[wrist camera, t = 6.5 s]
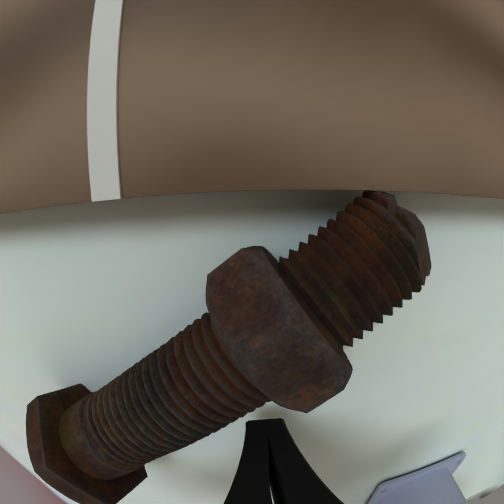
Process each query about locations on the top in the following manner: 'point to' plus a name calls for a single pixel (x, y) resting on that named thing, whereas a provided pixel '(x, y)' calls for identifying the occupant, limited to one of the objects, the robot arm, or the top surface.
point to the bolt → (236, 351)
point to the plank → (248, 97)
